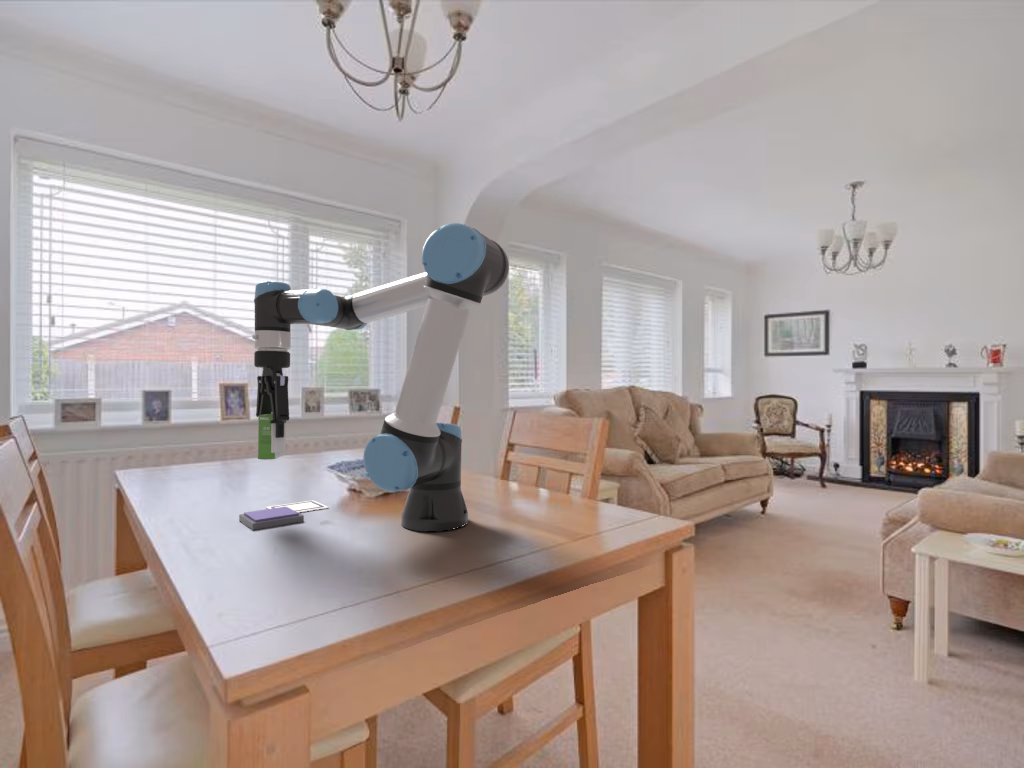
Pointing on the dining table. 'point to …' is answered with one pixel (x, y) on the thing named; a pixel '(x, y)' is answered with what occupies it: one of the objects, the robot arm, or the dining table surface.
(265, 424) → the ink box
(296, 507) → the print sheet
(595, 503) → the dining table surface
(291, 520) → the ink pad
